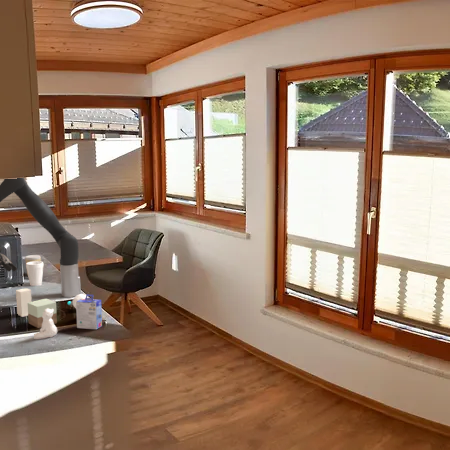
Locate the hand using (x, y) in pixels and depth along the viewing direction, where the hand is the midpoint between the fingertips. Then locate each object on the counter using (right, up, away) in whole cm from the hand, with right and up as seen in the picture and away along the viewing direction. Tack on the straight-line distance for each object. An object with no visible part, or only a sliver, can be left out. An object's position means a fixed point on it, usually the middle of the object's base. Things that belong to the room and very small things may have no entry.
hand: (13, 270), depth 247 cm
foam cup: (-7, -13, +49) cm, 51 cm away
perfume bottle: (+31, -20, +3) cm, 37 cm away
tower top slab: (+21, -18, -18) cm, 33 cm away
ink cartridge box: (+43, -23, -22) cm, 54 cm away
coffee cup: (-17, -10, +71) cm, 74 cm away
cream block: (+8, -21, -5) cm, 23 cm away
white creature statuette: (+28, -25, -32) cm, 50 cm away
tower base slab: (+21, -23, -17) cm, 35 cm away
